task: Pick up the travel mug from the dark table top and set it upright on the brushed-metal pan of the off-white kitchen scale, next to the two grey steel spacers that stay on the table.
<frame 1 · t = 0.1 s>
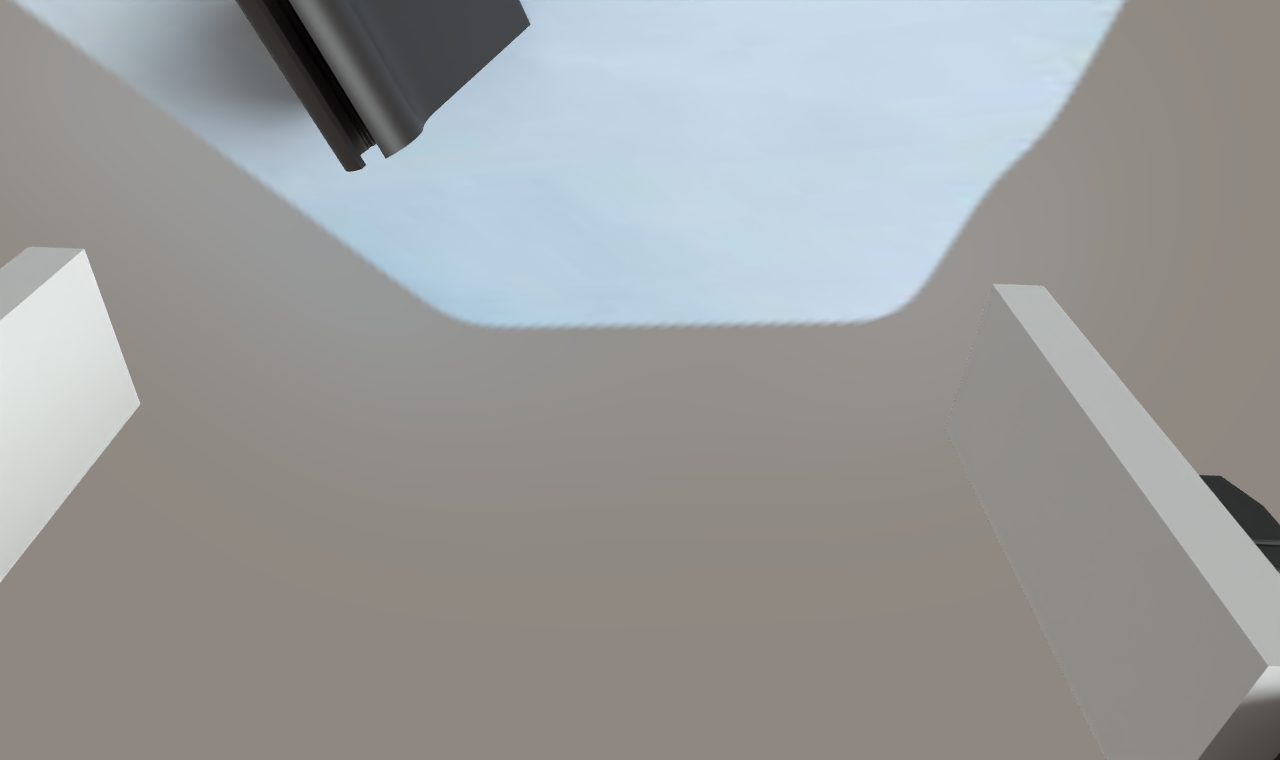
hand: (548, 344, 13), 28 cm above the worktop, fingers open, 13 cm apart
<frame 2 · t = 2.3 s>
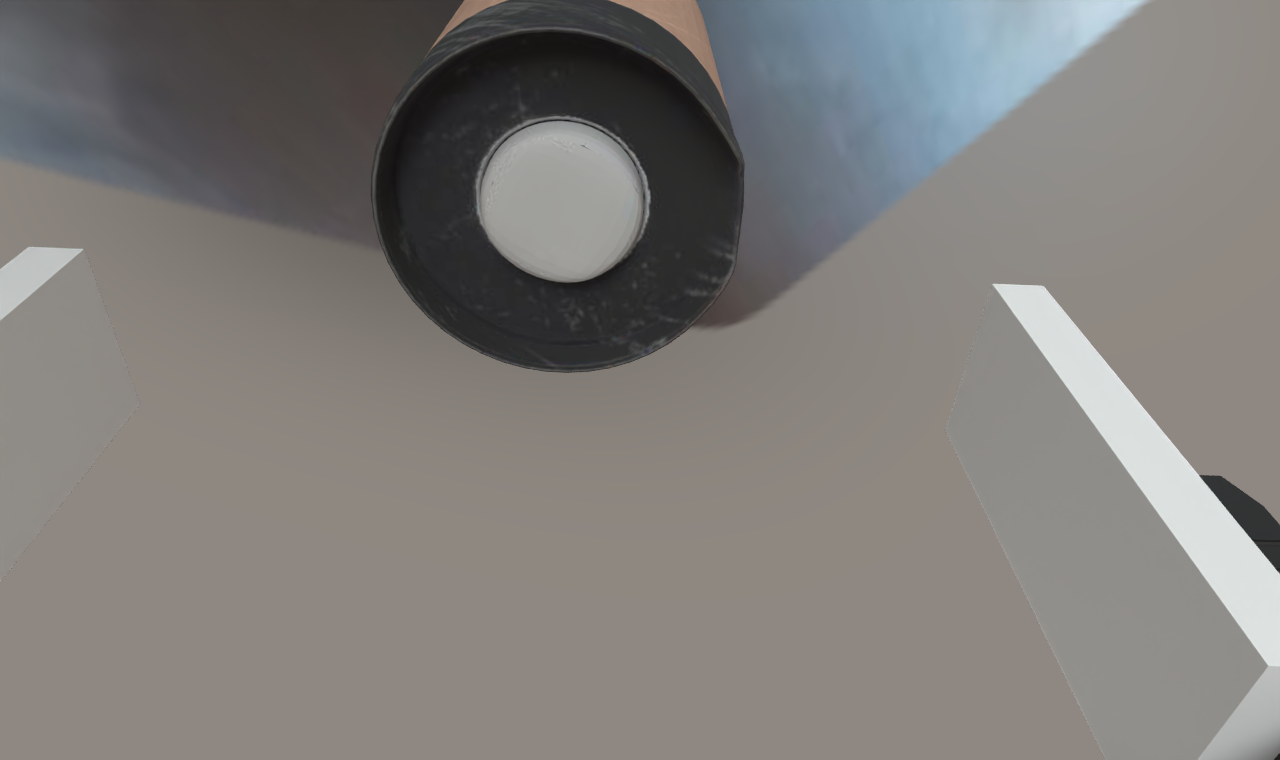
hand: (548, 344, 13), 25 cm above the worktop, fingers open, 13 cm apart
travel mug: (594, 3, 33), on the worktop
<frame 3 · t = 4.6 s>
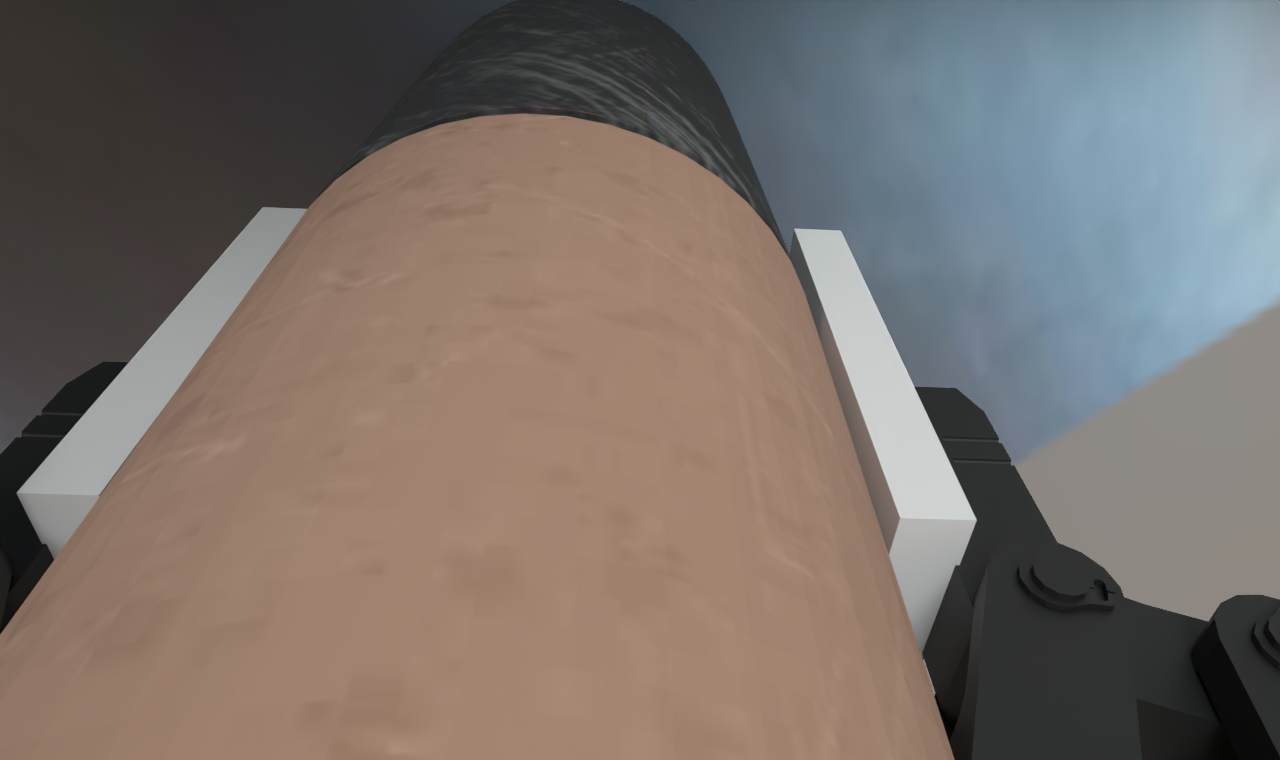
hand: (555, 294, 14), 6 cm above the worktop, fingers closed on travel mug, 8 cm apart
travel mug: (576, 156, 19), on the worktop, touching gripper
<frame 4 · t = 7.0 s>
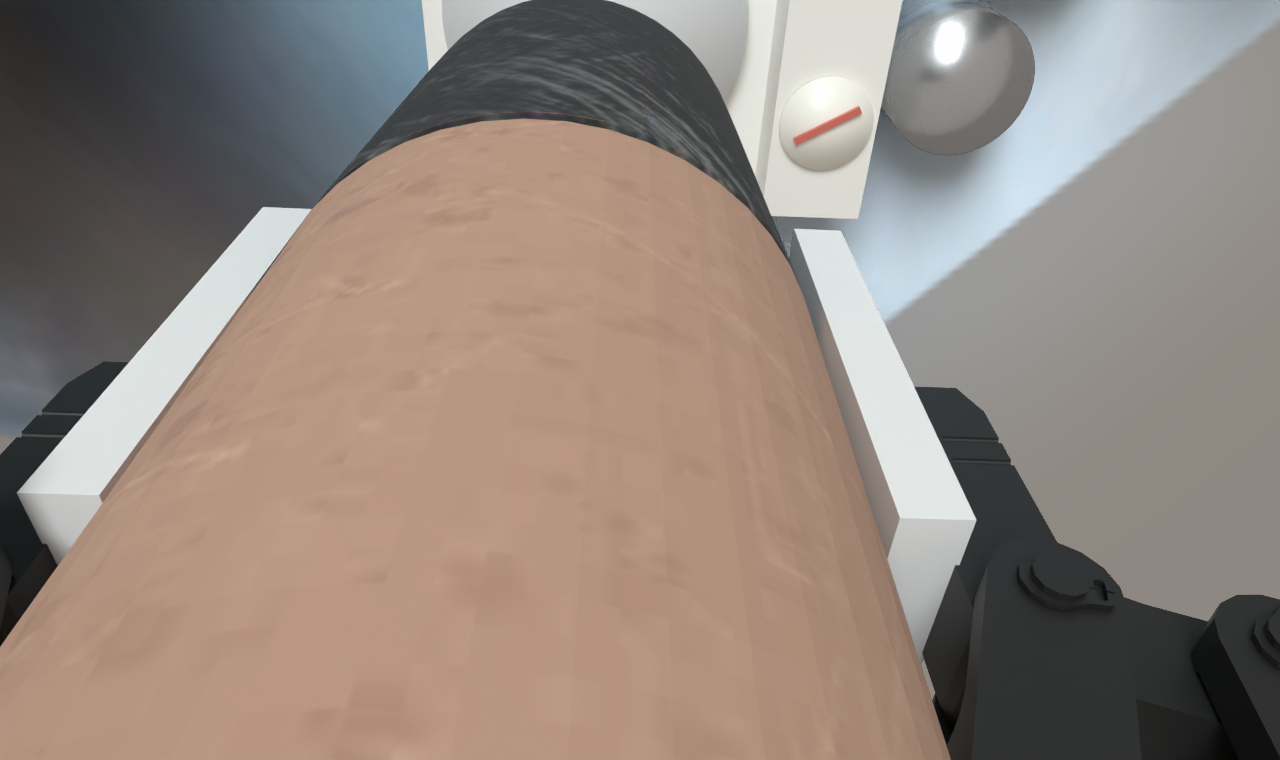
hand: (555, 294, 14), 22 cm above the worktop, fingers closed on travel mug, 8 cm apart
steel spacer B: (929, 57, 33), on the worktop
travel mug: (576, 158, 19), point 16 cm above the worktop, touching gripper
scale: (652, 4, 32), on the worktop
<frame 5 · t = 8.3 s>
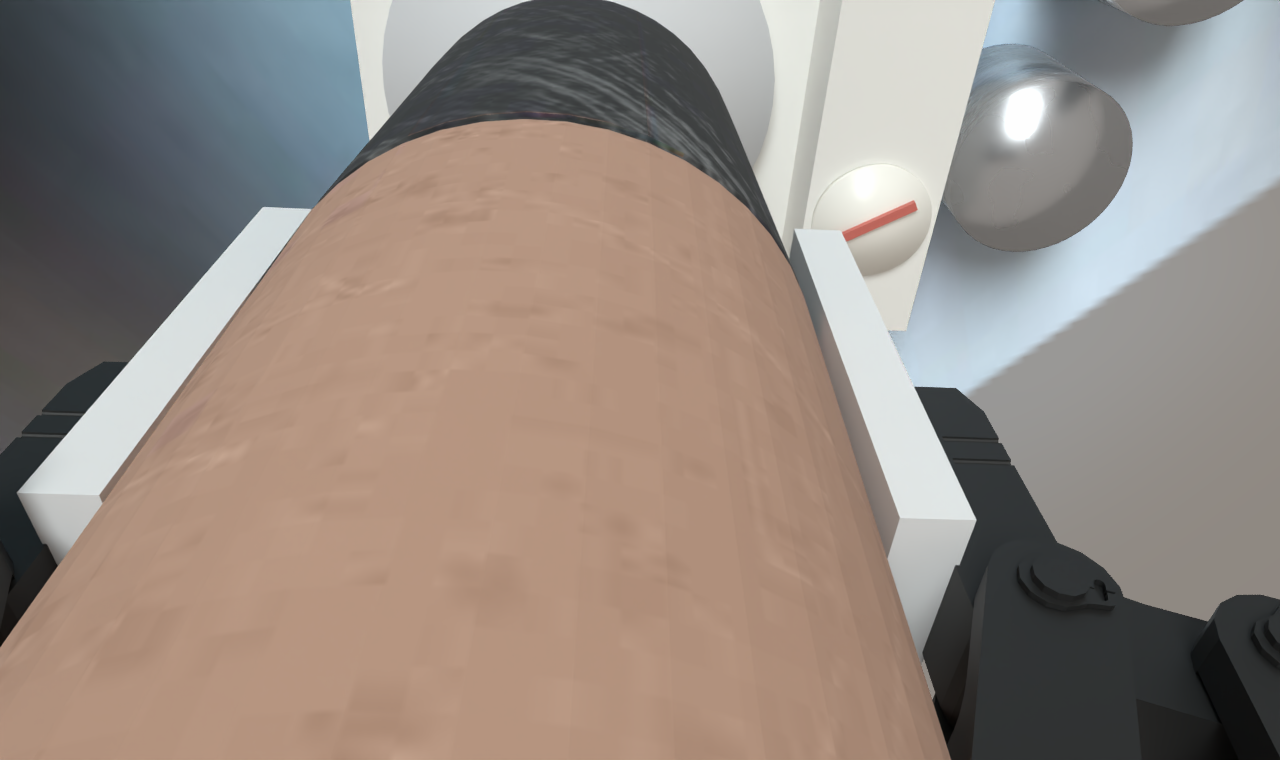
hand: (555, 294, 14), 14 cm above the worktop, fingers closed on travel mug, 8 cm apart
steel spacer B: (990, 124, 27), on the worktop
travel mug: (576, 159, 19), point 8 cm above the worktop, touching gripper
scale: (651, 61, 26), on the worktop
when the fingers open (11 cm above the worktop, at t = 9.4 s): travel mug drops 1 cm, resting on scale.
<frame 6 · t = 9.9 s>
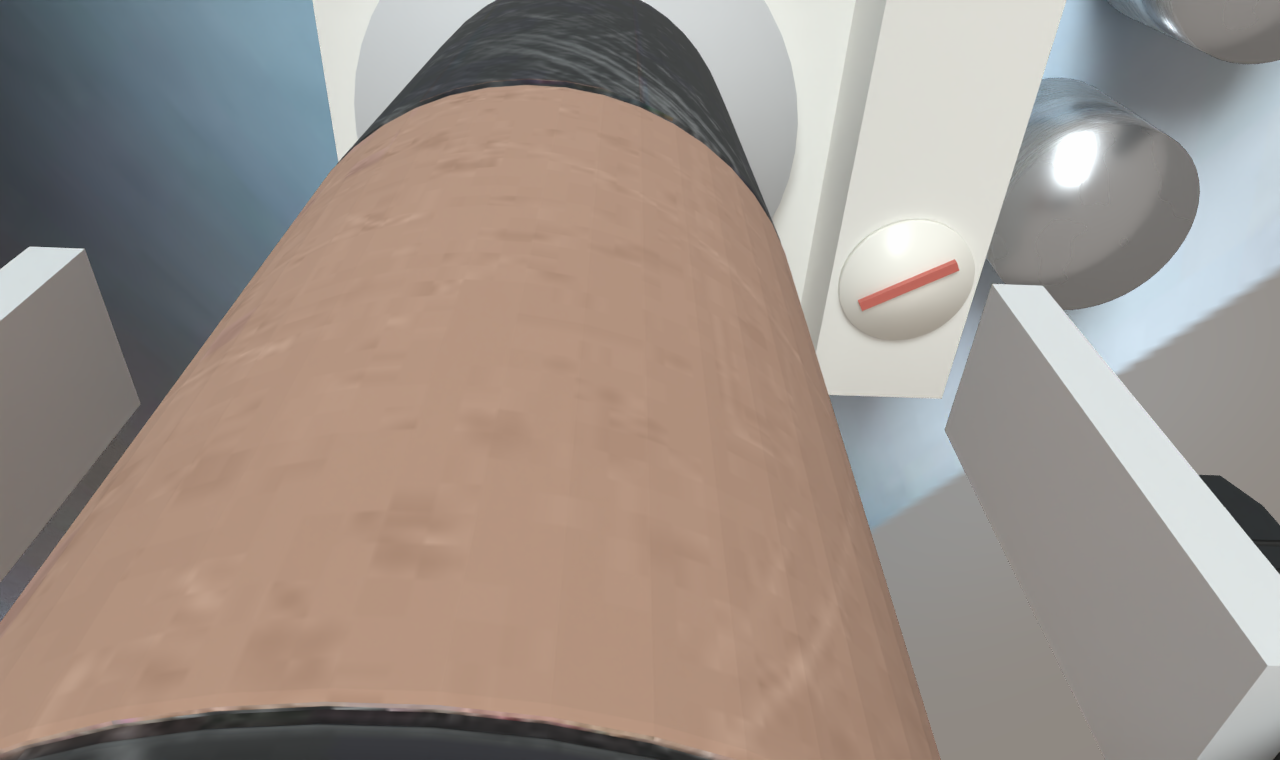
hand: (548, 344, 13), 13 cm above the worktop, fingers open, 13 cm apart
steel spacer B: (1032, 165, 25), on the worktop
travel mug: (575, 139, 20), point 4 cm above the worktop, touching scale
scale: (657, 96, 23), on the worktop
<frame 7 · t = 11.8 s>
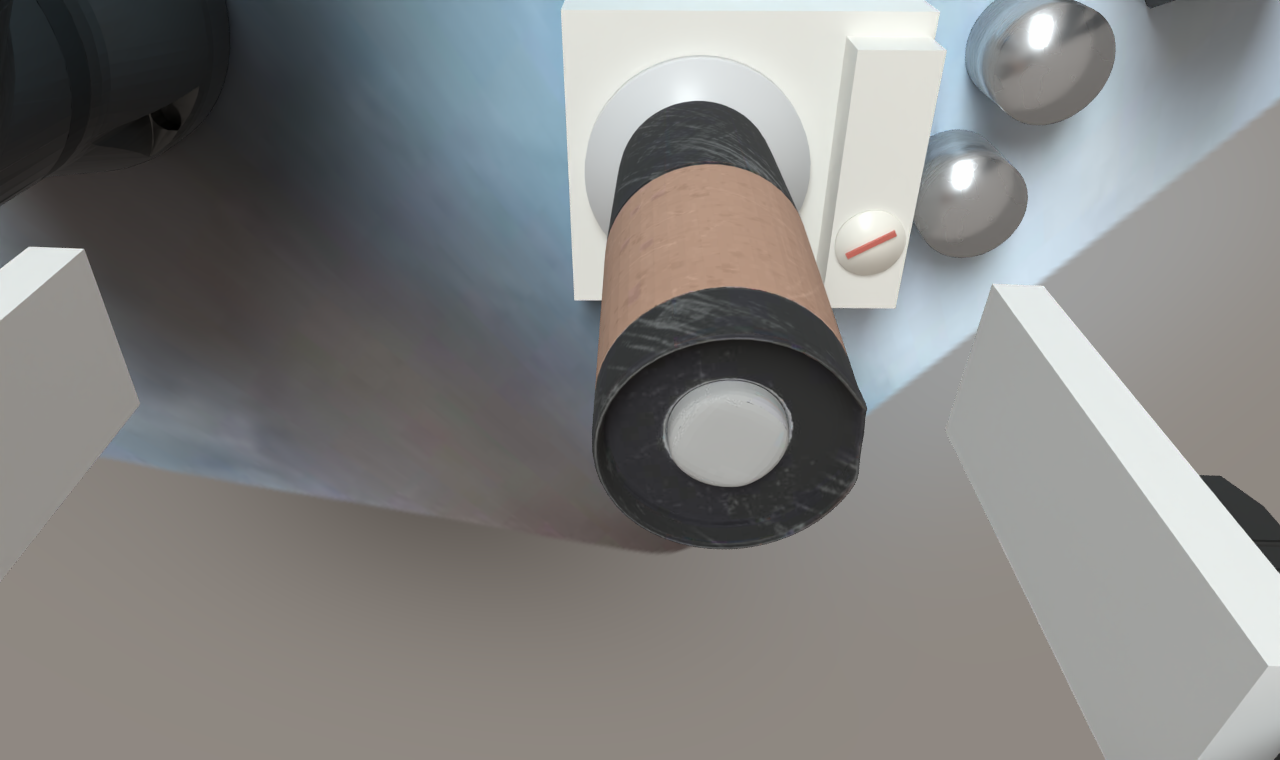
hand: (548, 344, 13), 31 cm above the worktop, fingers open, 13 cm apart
steel spacer B: (947, 177, 43), on the worktop
travel mug: (695, 175, 39), point 4 cm above the worktop, touching scale
steel spacer A: (1019, 44, 40), on the worktop
scale: (733, 148, 42), on the worktop
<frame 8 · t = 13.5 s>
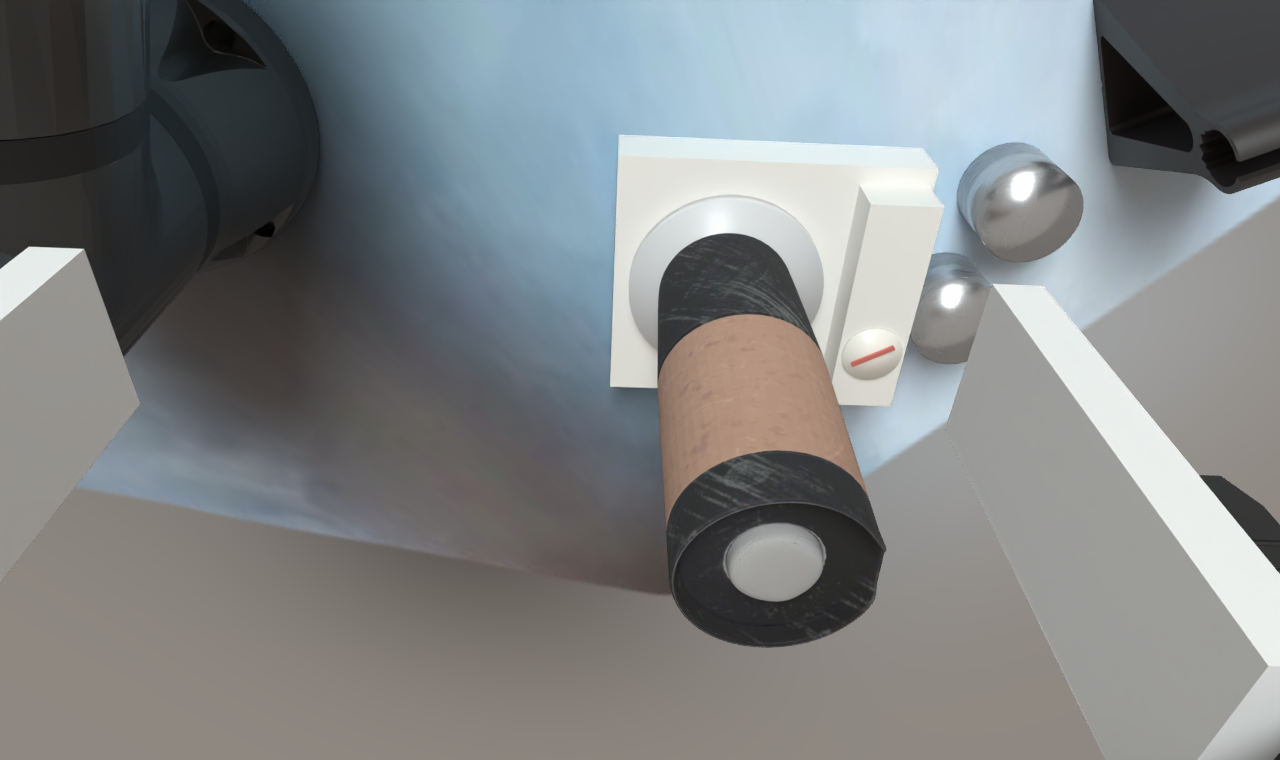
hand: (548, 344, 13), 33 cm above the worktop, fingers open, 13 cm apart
phone stand: (1161, 58, 43), on the worktop
steel spacer B: (937, 290, 50), on the worktop
travel mug: (724, 290, 46), point 4 cm above the worktop, touching scale
steel spacer A: (1003, 187, 46), on the worktop
scale: (754, 261, 49), on the worktop
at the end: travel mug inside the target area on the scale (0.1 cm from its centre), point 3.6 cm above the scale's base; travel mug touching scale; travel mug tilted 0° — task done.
